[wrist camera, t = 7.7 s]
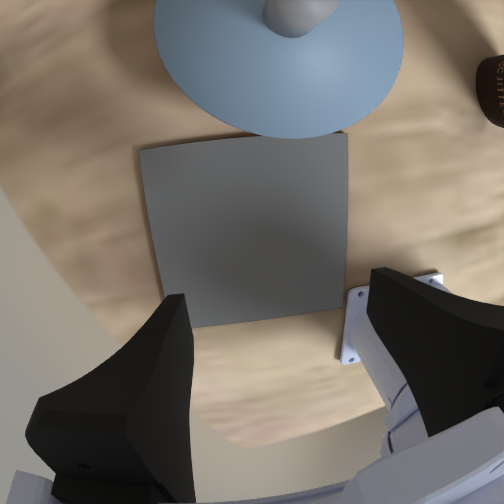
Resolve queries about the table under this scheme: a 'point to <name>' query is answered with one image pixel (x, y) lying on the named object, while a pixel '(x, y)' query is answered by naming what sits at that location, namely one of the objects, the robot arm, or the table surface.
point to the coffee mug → (491, 89)
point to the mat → (250, 225)
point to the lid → (282, 60)
